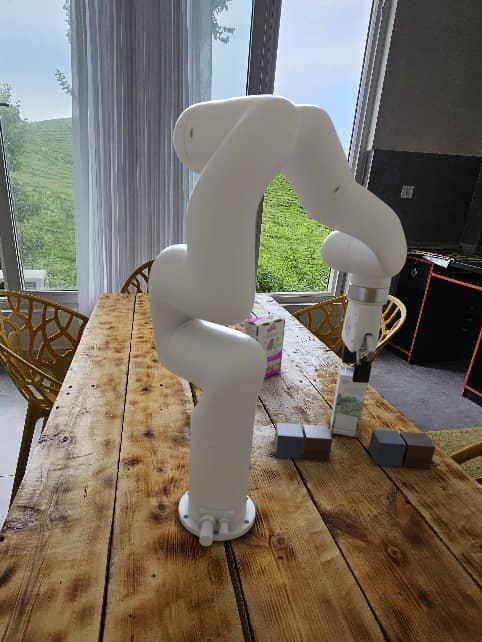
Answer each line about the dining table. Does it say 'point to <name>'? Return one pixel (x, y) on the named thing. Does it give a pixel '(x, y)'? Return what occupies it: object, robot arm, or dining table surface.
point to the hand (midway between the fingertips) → (354, 372)
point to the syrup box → (347, 403)
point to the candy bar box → (269, 339)
